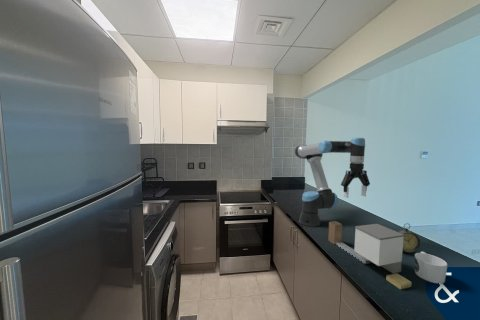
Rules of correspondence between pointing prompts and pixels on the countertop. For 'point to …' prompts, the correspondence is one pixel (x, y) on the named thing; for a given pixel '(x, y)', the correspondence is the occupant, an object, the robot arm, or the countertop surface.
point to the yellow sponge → (398, 281)
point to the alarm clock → (410, 240)
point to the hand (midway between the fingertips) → (354, 196)
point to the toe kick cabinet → (380, 246)
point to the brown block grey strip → (335, 238)
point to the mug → (430, 267)
